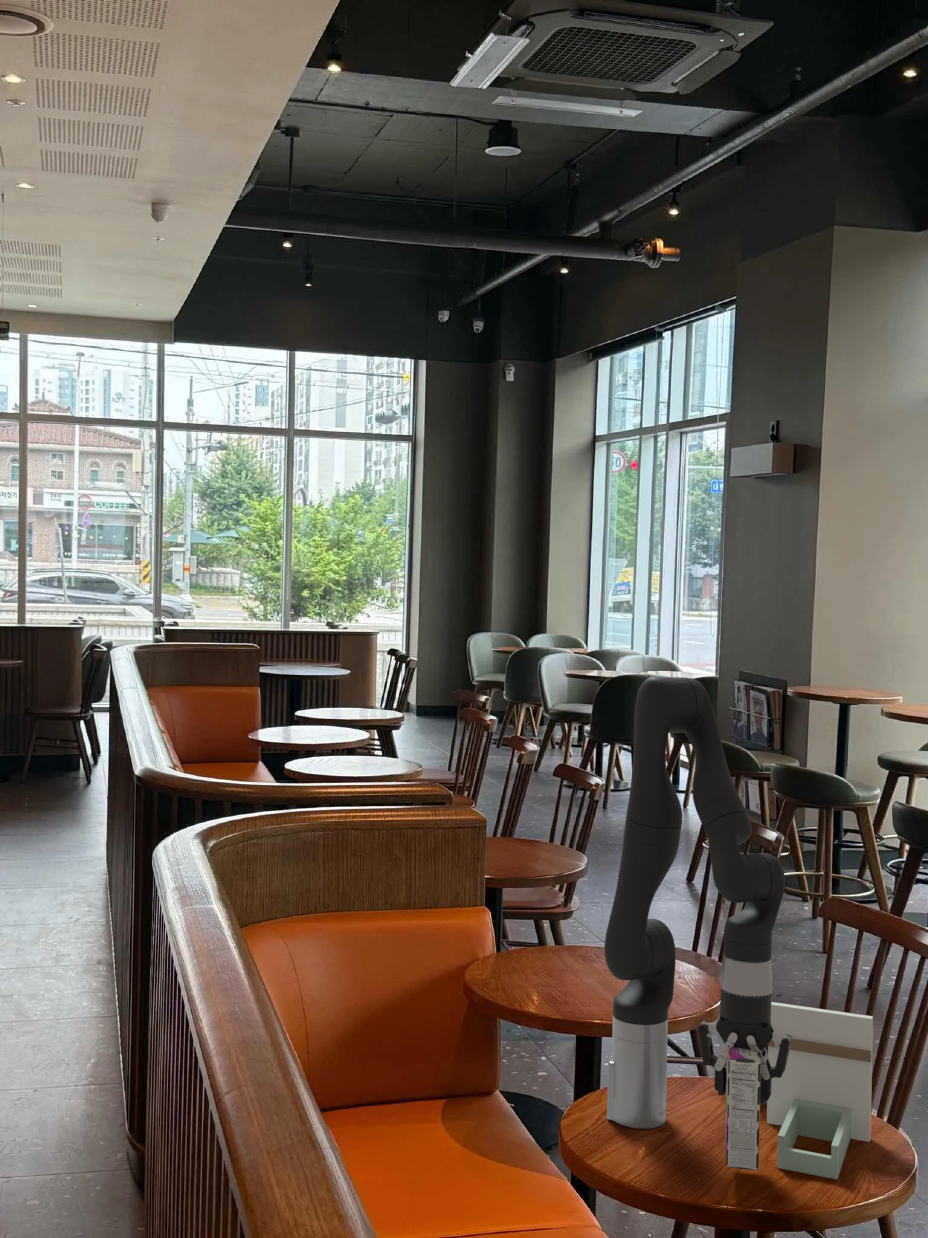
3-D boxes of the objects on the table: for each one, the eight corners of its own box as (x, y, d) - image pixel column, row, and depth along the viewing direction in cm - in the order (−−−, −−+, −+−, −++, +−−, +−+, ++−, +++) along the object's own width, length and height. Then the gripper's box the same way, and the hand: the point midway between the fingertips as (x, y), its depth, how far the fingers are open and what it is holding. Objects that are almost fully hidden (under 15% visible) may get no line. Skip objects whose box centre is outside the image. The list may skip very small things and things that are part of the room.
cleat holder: (747, 1162, 190) (750, 1033, 190) (768, 1120, 206) (770, 1002, 206) (858, 1184, 183) (860, 1050, 183) (870, 1139, 200) (872, 1016, 200)
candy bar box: (723, 1136, 190) (726, 1031, 190) (756, 1140, 189) (759, 1035, 189) (723, 1168, 179) (727, 1057, 179) (758, 1172, 178) (762, 1060, 178)
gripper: (693, 985, 183) (689, 1097, 184) (790, 1001, 178) (786, 1116, 178) (704, 972, 190) (701, 1080, 190) (798, 987, 184) (795, 1098, 185)
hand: (742, 1097), depth 184 cm, fingers closed on candy bar box, 5 cm apart
